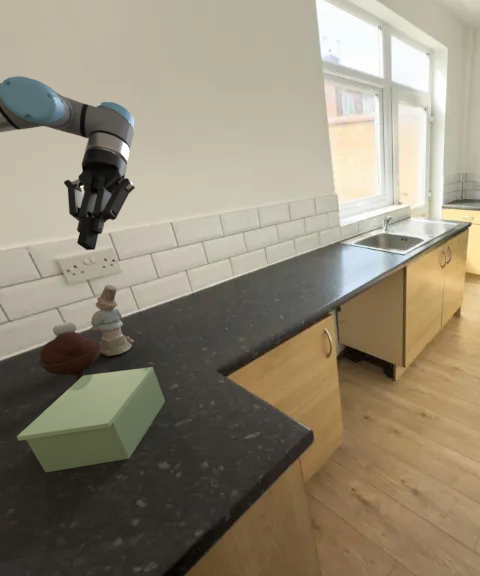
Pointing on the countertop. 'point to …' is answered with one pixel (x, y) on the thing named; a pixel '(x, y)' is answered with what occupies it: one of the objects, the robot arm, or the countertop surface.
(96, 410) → the chest lid
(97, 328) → the figurine
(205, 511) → the countertop surface
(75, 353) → the ice cream bowl
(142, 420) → the chest
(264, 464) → the countertop surface
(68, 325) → the salt shaker
